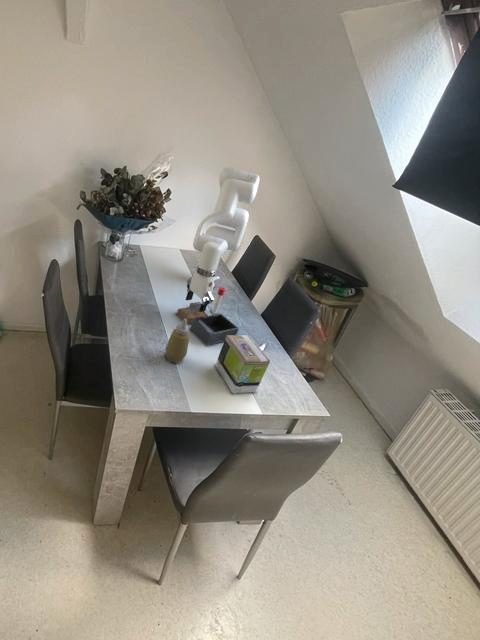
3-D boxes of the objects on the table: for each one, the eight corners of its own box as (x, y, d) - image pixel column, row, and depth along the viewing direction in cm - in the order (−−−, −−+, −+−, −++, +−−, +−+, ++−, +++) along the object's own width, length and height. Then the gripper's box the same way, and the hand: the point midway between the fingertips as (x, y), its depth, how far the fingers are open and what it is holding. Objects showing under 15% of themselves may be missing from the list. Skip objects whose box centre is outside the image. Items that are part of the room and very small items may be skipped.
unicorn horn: (273, 349, 162) (277, 340, 159) (249, 373, 145) (254, 364, 143) (262, 343, 164) (266, 334, 162) (238, 367, 148) (242, 357, 145)
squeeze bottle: (179, 368, 141) (191, 329, 132) (159, 358, 145) (170, 319, 135) (187, 357, 148) (199, 319, 138) (168, 348, 151) (179, 310, 141)
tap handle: (196, 310, 173) (199, 301, 171) (198, 311, 172) (201, 302, 170) (187, 311, 171) (190, 302, 168) (189, 313, 170) (192, 304, 167)
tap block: (194, 309, 179) (196, 304, 178) (207, 321, 172) (209, 315, 171) (175, 313, 174) (177, 307, 172) (188, 325, 167) (190, 319, 166)
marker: (214, 310, 182) (222, 286, 175) (217, 313, 180) (226, 289, 173) (210, 311, 180) (218, 287, 174) (213, 314, 179) (222, 290, 172)
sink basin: (217, 323, 172) (220, 313, 169) (234, 339, 164) (238, 328, 161) (189, 329, 165) (193, 318, 162) (206, 345, 156) (210, 334, 153)
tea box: (256, 392, 137) (271, 361, 129) (231, 393, 134) (245, 361, 126) (237, 364, 149) (250, 334, 141) (214, 365, 146) (225, 334, 139)
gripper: (225, 279, 156) (214, 314, 165) (199, 261, 169) (190, 294, 177) (212, 281, 153) (200, 317, 161) (186, 262, 165) (177, 296, 174)
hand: (195, 305), depth 169 cm, fingers open, 9 cm apart
